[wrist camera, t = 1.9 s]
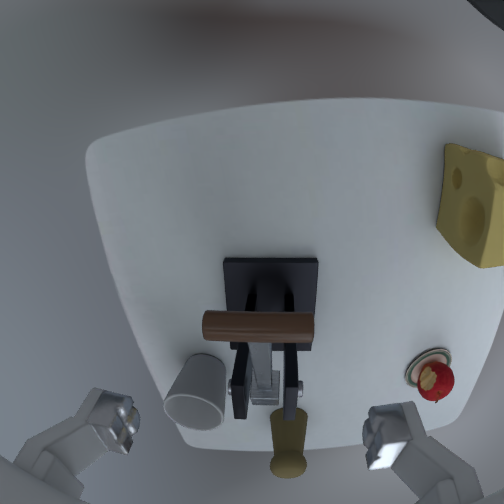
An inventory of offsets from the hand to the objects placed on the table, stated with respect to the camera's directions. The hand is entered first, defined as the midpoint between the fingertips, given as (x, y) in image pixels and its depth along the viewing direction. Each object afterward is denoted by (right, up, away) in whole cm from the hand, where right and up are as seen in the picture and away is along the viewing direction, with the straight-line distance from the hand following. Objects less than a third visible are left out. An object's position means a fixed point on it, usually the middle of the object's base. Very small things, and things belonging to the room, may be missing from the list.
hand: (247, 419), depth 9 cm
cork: (+6, -21, +34) cm, 41 cm away
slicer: (+2, -1, +26) cm, 26 cm away
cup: (-6, -12, +32) cm, 34 cm away
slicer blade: (+1, -1, +11) cm, 11 cm away
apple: (+27, -12, +29) cm, 41 cm away
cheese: (+26, +12, +19) cm, 34 cm away
